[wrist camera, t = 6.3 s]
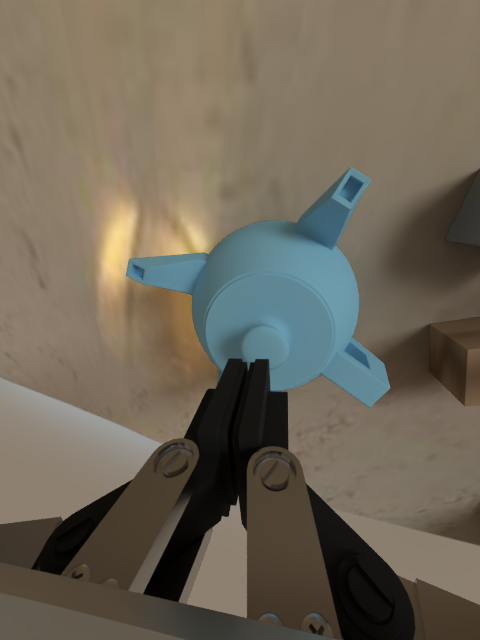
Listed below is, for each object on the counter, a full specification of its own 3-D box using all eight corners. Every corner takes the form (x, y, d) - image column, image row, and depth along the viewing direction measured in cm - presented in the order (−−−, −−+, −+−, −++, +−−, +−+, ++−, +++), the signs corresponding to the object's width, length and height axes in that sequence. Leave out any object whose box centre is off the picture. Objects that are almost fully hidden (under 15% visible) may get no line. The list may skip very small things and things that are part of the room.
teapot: (227, 378, 28) (194, 462, 18) (172, 251, 23) (90, 269, 14) (369, 348, 23) (430, 437, 14) (334, 186, 19) (387, 144, 9)
